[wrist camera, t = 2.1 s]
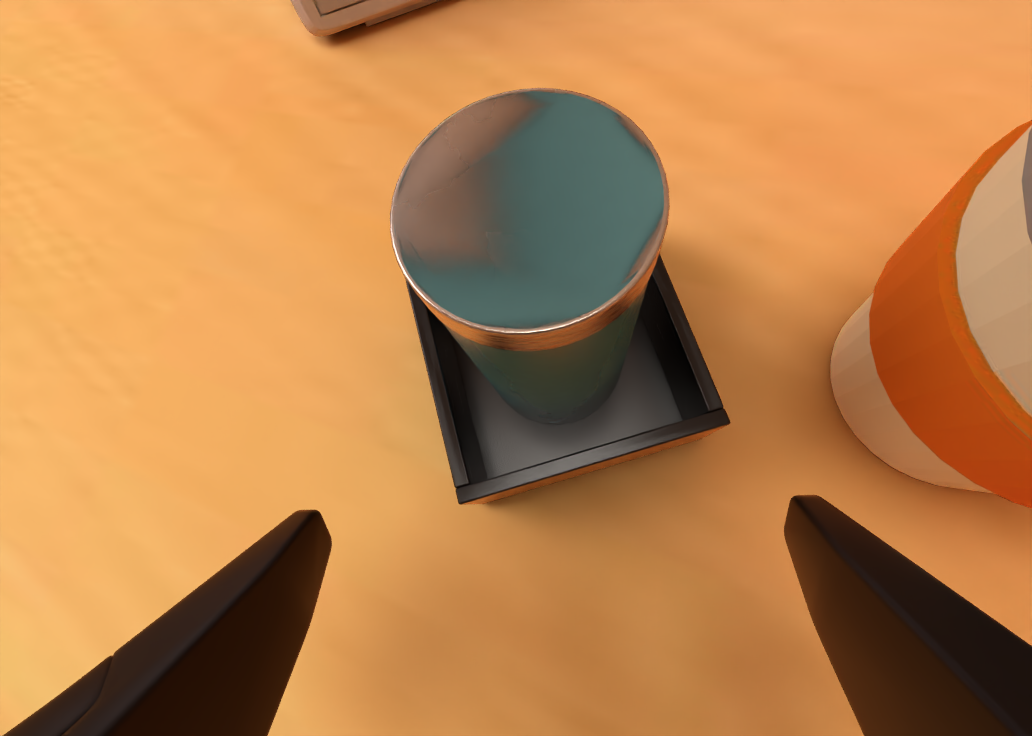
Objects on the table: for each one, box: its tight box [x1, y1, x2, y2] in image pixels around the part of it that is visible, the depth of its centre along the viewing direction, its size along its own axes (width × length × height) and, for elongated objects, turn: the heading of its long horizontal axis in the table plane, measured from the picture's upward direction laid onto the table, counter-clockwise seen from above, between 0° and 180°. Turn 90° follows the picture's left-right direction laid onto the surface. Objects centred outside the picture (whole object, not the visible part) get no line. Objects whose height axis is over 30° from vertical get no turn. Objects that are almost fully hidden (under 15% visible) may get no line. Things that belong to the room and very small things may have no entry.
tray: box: [405, 254, 730, 504], centre depth 21 cm, size 11×10×4 cm
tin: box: [390, 88, 669, 424], centre depth 17 cm, size 6×6×12 cm
